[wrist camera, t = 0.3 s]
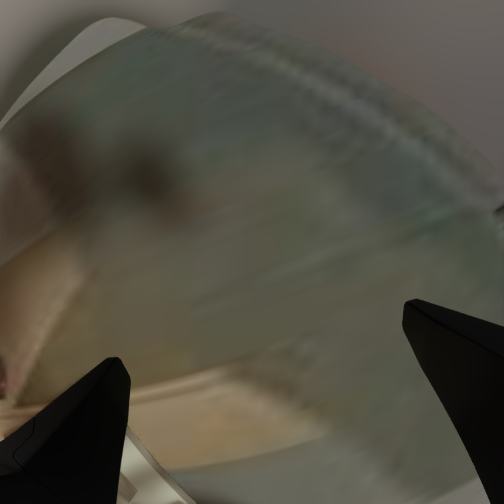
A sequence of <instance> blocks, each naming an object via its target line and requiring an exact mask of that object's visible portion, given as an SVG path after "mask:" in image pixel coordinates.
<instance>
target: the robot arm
mask: <svg viewBox="0 0 504 504" xmlns="http://www.w3.org/2000/svg"><path fill="white" fill-rule="evenodd" d="M402 327H403V330H404V333H405V335H406V337H407V339H408V341H409V343H410V345H411V347H412V349H413V351H414V354H415V356H416V358H417V360H418V362H419V364H420V366H421V368H422V370H423V372H424V373H425V375H426V377H427V378H428V380H429V382H430V383H431V385H432V387H433V388H434V390H435V392H436V394H437V395H438V397H439V399H440V401H441V403H442V404H443V406H444V408H445V410H446V412H447V413H448V415H449V417H450V419H451V421H452V423H453V424H454V426H455V428H456V430H457V432H458V434H459V436H460V438H461V440H462V442H463V444H464V446H465V448H466V450H467V452H468V454H469V456H470V458H471V460H472V462H473V464H474V466H475V469H476V471H477V473H478V476H479V478H480V480H481V482H482V484H483V487H484V489H485V491H486V494H487V496H488V498H489V501H490V503H491V504H504V326H500V325H497V324H494V323H491V322H488V321H485V320H482V319H479V318H476V317H473V316H470V315H466V314H463V313H460V312H457V311H454V310H451V309H448V308H445V307H442V306H438V305H435V304H432V303H429V302H426V301H423V300H420V299H413V300H409V301H407V302H405V304H404V310H403V320H402ZM130 387H131V379H130V376H129V374H128V372H127V370H126V368H125V366H124V365H123V363H122V361H121V359H120V358H118V357H109V358H106V359H105V360H104V361H102V362H101V363H100V364H99V365H97V366H96V367H95V368H94V369H92V370H91V371H90V372H89V373H87V374H86V375H85V376H84V377H82V378H81V379H80V380H79V381H77V382H76V383H75V384H74V385H72V386H71V387H70V388H69V389H67V390H66V391H65V392H64V393H63V394H61V395H60V396H59V397H58V398H56V399H55V400H54V401H53V402H51V403H50V404H49V405H48V406H46V407H45V408H44V409H43V410H42V411H40V412H39V413H38V414H37V415H36V417H35V416H34V417H33V418H32V419H30V420H29V421H28V422H27V423H25V424H24V425H23V426H22V427H20V428H19V429H18V430H16V431H15V432H14V433H12V434H11V435H9V436H8V437H7V438H5V439H4V440H2V441H1V442H0V504H117V495H118V486H119V477H120V470H121V462H122V455H123V448H124V442H125V436H126V430H127V423H128V413H129V399H130Z"/></svg>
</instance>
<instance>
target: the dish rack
mask: <svg viewBox="0 0 504 504" xmlns="http://www.w3.org/2000/svg"><path fill="white" fill-rule="evenodd" d="M117 504H197V503H196V502H195V501H194V500H193V499H192V498H191V497H190V496H189V495H188V494H187V493H186V492H185V491H184V490H183V489H182V488H181V487H180V486H179V485H178V484H177V483H176V482H175V481H174V480H173V479H172V478H171V477H170V476H169V475H168V474H167V473H166V471H165V470H164V469H163V468H162V467H161V466H160V465H159V464H158V462H157V461H156V460H155V459H154V458H153V457H152V456H151V454H150V453H149V452H148V451H147V450H146V448H145V447H144V446H143V445H142V443H141V442H140V441H139V440H138V438H137V437H136V436H135V434H134V433H133V432H132V431H131V429H130V428H129V427H128V425H127V430H126V436H125V442H124V448H123V455H122V462H121V470H120V477H119V486H118V495H117Z"/></svg>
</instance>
